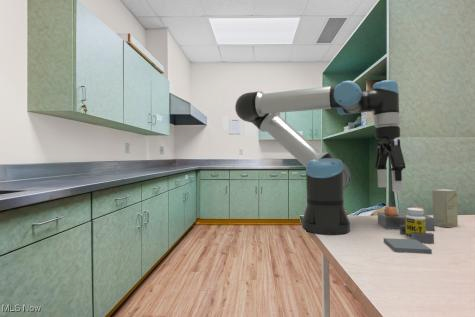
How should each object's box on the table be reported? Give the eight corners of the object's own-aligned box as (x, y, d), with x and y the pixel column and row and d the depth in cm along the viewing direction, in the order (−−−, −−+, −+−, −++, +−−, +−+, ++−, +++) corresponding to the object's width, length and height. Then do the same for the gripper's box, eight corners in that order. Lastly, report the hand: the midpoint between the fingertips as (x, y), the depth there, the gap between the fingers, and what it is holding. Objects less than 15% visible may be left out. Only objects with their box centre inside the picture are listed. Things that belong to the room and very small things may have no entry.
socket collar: (434, 243, 69) (433, 234, 69) (414, 242, 70) (413, 233, 70) (417, 233, 78) (417, 225, 78) (399, 233, 79) (399, 225, 79)
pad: (394, 251, 63) (394, 247, 63) (383, 241, 71) (383, 238, 71) (431, 253, 61) (431, 249, 61) (416, 243, 69) (416, 239, 69)
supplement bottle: (404, 238, 74) (403, 209, 74) (407, 234, 77) (406, 206, 77) (424, 241, 70) (424, 211, 70) (427, 237, 74) (426, 208, 74)
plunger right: (414, 220, 84) (414, 208, 84) (410, 218, 87) (409, 206, 87) (425, 221, 83) (425, 208, 83) (420, 218, 86) (420, 207, 86)
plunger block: (385, 229, 84) (385, 217, 84) (377, 223, 91) (377, 212, 91) (434, 230, 81) (434, 218, 81) (422, 224, 88) (421, 213, 88)
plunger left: (387, 220, 86) (387, 208, 86) (384, 217, 89) (384, 206, 89) (398, 220, 85) (397, 208, 85) (394, 218, 88) (394, 206, 88)
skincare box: (447, 228, 84) (446, 190, 84) (432, 225, 88) (431, 189, 88) (458, 225, 86) (457, 189, 86) (443, 223, 90) (442, 188, 90)
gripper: (416, 120, 75) (419, 193, 75) (385, 130, 99) (387, 185, 99) (388, 121, 77) (391, 193, 76) (364, 131, 101) (366, 185, 100)
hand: (389, 189), depth 88 cm, fingers open, 12 cm apart
